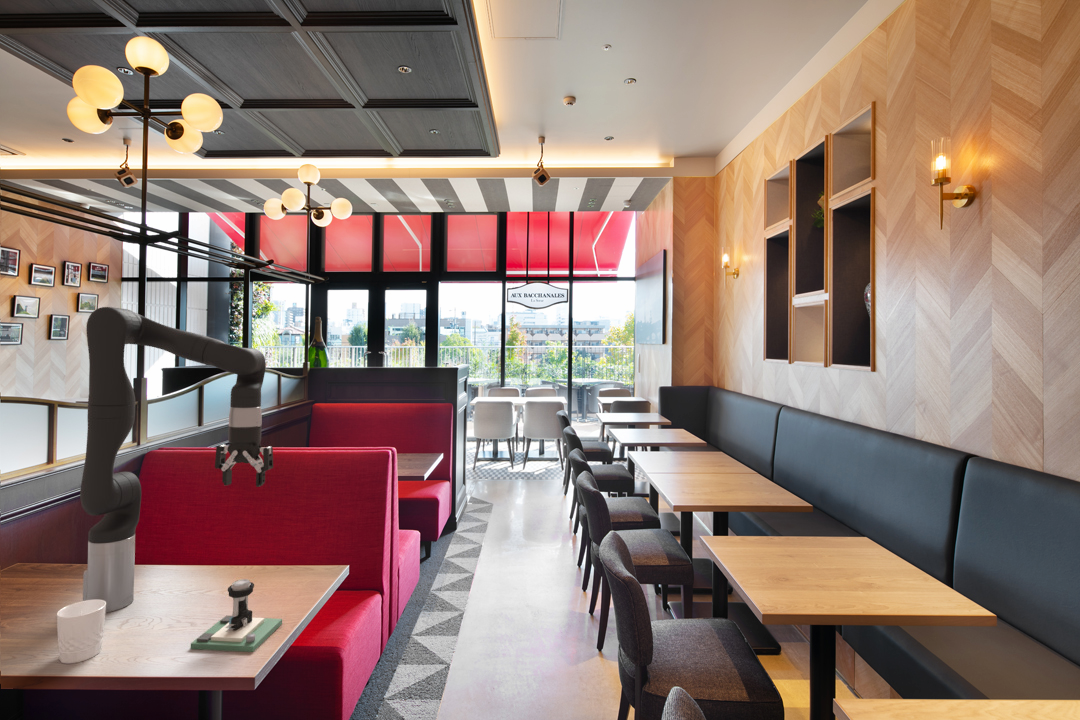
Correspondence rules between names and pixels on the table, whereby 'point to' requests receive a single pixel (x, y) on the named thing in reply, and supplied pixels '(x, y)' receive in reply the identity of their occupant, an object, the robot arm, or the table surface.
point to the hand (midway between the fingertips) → (243, 485)
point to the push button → (240, 604)
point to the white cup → (80, 630)
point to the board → (237, 635)
